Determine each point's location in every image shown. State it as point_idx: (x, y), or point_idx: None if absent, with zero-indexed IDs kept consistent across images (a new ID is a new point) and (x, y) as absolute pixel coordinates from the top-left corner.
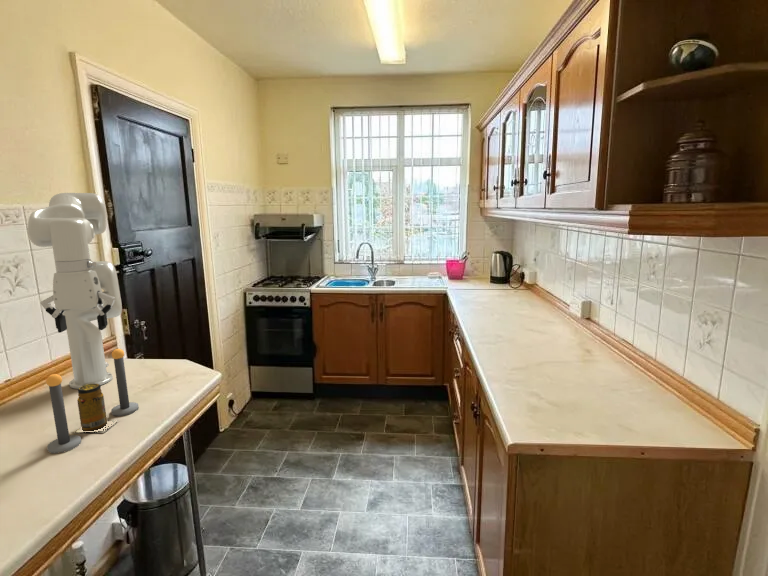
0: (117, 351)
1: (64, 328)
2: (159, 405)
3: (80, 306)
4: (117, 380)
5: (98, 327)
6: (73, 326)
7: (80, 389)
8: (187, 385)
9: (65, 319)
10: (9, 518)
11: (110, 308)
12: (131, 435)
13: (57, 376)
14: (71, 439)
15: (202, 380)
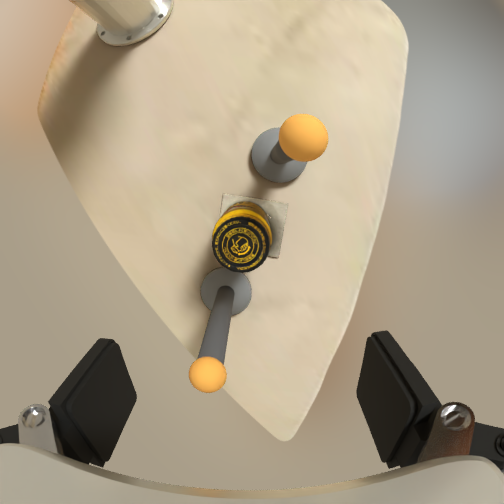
0: (313, 152)
1: (120, 373)
2: (347, 144)
3: None
4: (282, 158)
5: (360, 404)
6: None
7: (225, 262)
8: (368, 54)
9: (86, 390)
10: (255, 417)
11: (495, 436)
12: (333, 271)
13: (219, 387)
14: (233, 286)
15: (389, 40)
